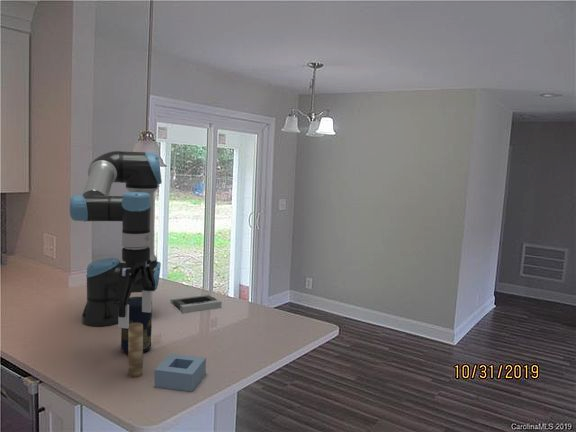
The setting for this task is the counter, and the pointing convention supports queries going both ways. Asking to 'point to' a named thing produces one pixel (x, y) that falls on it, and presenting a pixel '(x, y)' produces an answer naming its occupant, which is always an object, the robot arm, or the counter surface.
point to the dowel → (135, 350)
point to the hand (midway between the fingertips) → (135, 319)
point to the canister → (137, 317)
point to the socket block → (180, 372)
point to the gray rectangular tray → (196, 303)
